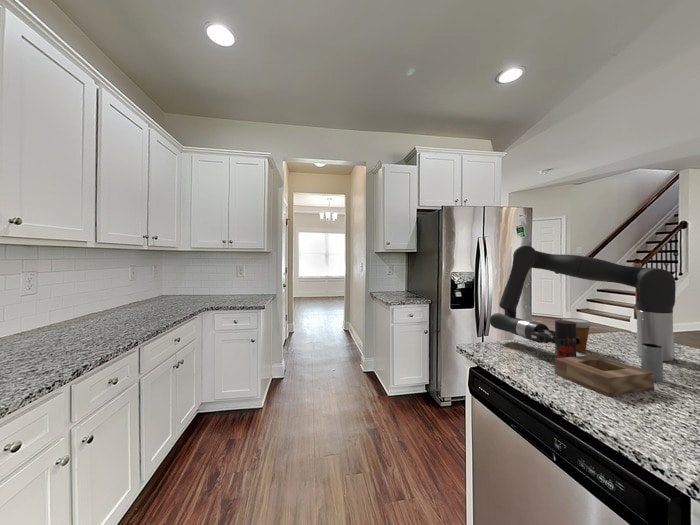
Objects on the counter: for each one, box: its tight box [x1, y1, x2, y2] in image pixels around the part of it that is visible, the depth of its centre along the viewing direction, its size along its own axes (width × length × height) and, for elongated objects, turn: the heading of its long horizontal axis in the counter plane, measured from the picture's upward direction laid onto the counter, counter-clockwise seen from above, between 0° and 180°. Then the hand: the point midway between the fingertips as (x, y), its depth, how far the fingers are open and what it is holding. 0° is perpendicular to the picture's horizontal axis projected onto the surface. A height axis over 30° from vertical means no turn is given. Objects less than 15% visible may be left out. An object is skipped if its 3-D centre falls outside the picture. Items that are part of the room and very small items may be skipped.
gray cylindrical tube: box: [640, 343, 664, 383], centre depth 88 cm, size 4×4×10 cm
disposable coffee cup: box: [562, 317, 591, 352], centre depth 118 cm, size 10×10×12 cm
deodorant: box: [554, 319, 577, 360], centre depth 101 cm, size 6×6×15 cm
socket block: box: [554, 354, 655, 398], centre depth 87 cm, size 16×16×5 cm
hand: (572, 342), depth 99 cm, fingers closed on deodorant, 6 cm apart
